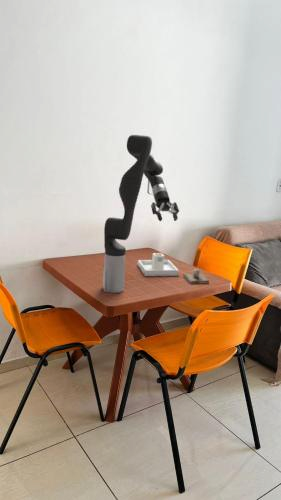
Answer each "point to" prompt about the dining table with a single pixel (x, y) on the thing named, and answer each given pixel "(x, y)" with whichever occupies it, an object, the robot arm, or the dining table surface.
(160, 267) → the sleeve
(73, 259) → the dining table surface
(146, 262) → the tray
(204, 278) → the stake base
